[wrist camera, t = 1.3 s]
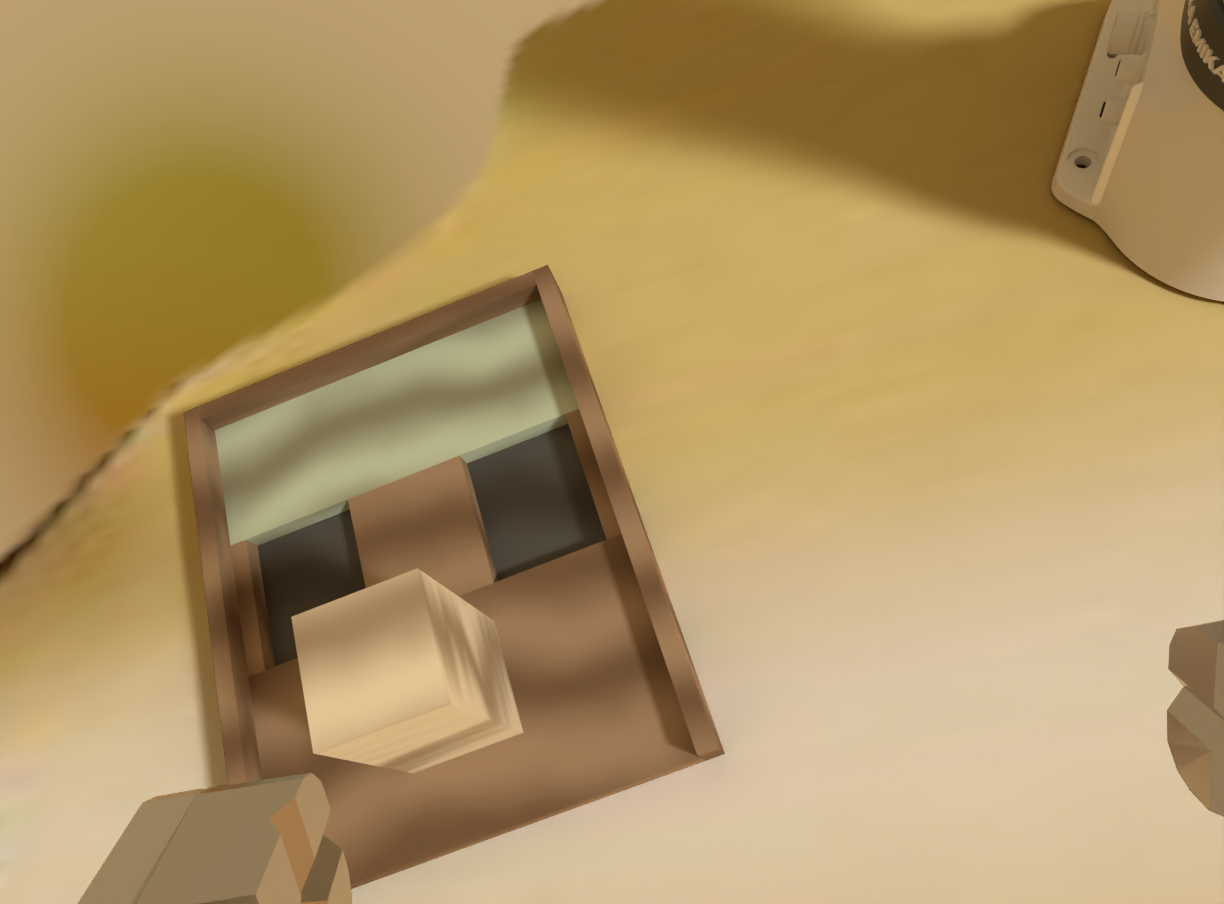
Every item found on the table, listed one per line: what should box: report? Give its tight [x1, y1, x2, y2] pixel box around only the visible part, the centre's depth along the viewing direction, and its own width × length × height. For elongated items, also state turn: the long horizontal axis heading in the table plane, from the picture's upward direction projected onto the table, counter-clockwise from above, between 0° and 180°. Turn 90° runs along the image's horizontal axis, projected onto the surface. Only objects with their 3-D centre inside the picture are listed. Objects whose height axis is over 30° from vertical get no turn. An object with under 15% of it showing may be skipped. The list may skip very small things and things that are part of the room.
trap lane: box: [184, 265, 724, 889], centre depth 52 cm, size 29×24×3 cm
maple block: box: [291, 568, 523, 773], centre depth 44 cm, size 6×6×10 cm
